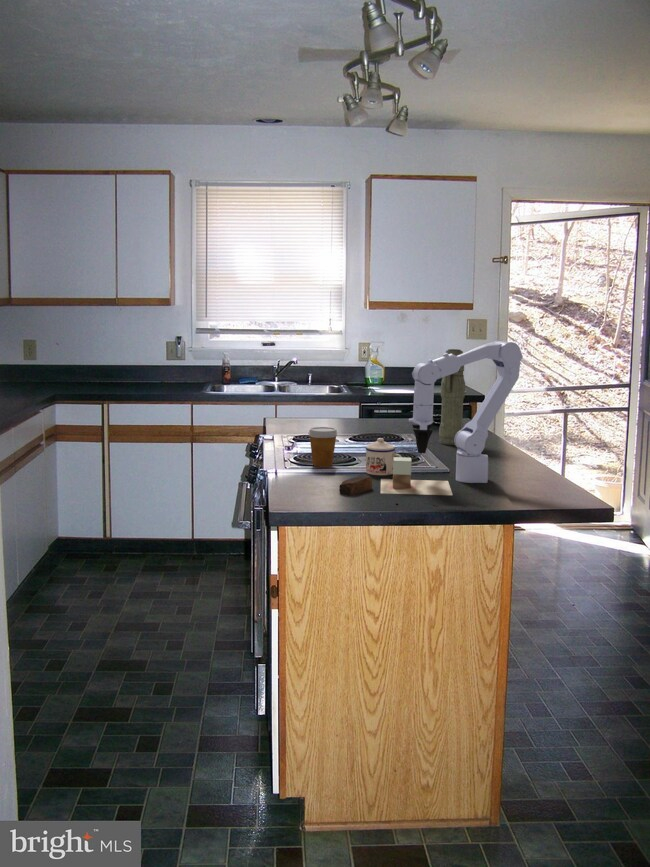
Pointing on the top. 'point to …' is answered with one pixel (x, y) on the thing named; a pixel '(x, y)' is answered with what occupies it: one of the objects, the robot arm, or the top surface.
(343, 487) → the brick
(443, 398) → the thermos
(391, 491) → the build board
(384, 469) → the teacup with lid
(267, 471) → the top surface
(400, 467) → the sage block
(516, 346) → the robot arm
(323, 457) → the disposable coffee cup
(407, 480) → the walnut block
